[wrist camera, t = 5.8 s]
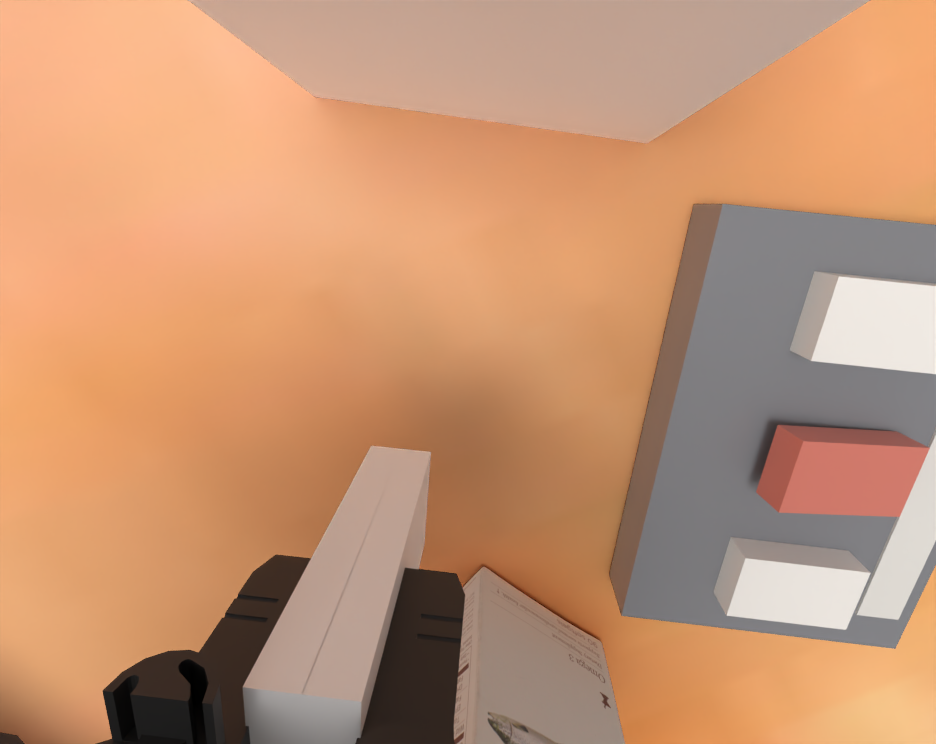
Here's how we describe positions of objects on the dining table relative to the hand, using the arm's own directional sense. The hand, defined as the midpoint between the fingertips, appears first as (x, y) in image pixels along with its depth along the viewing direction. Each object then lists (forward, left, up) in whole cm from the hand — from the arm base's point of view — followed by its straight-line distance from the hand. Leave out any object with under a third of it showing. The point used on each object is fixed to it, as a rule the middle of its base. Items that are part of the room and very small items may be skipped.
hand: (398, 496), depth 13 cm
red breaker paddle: (0, -14, -5) cm, 15 cm away
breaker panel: (0, -14, -8) cm, 16 cm away
